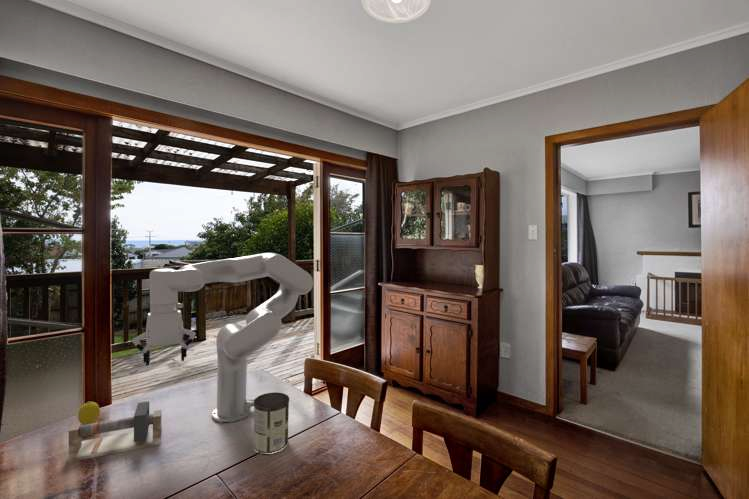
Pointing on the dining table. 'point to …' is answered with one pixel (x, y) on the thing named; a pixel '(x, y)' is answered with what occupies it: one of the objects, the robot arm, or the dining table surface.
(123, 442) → the pipe stand
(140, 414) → the grey frame
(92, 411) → the lemon
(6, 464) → the dining table surface
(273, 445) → the coffee can
